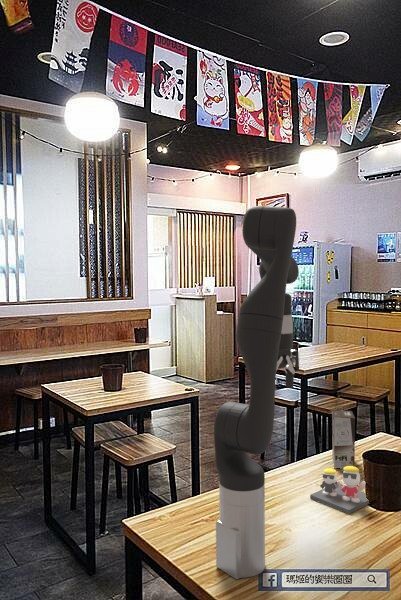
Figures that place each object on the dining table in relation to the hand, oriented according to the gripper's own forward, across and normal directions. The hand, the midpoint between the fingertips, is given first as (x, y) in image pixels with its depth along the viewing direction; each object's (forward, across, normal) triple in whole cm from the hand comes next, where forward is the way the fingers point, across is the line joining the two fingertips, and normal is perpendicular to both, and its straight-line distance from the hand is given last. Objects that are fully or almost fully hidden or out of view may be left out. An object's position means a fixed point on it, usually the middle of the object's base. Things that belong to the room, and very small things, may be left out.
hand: (279, 389), depth 140 cm
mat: (+28, +8, -15) cm, 33 cm away
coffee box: (+28, +30, 0) cm, 41 cm away
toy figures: (+27, +8, -15) cm, 32 cm away
